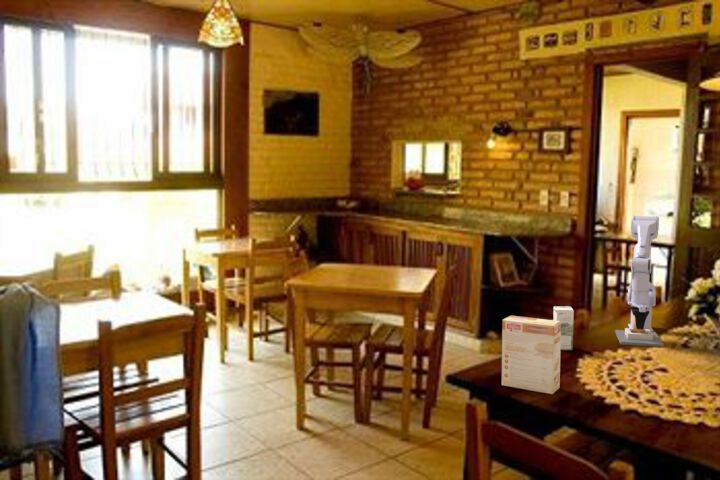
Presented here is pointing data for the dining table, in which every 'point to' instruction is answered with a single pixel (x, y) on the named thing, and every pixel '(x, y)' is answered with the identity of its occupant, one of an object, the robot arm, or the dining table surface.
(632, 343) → the dock board
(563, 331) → the syrup box
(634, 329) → the peach rounded egg part
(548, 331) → the coffeecake box
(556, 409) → the dining table surface
